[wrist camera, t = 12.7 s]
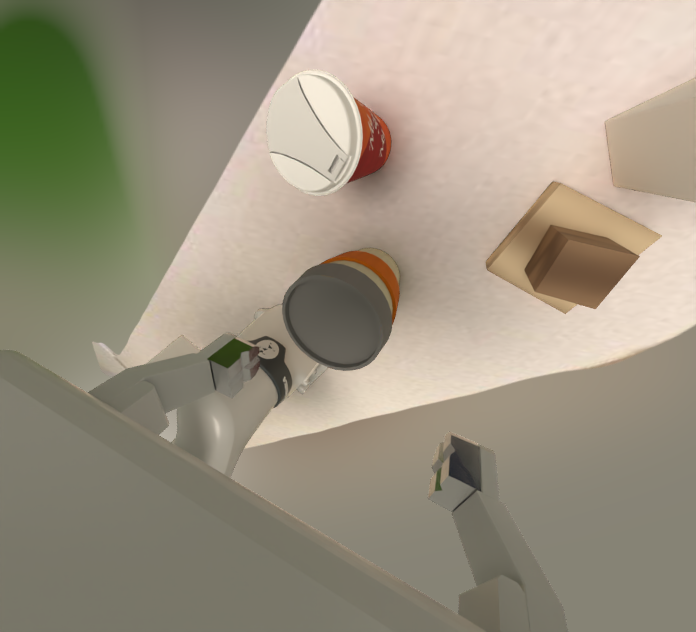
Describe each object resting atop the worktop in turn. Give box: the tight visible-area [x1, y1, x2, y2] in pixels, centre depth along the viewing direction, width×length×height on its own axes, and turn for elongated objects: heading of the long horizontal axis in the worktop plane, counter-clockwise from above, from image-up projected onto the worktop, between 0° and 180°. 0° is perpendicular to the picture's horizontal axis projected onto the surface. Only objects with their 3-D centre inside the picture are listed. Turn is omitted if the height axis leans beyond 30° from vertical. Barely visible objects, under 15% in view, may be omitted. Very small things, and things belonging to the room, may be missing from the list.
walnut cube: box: [524, 225, 640, 309], centre depth 24 cm, size 5×5×6 cm
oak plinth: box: [486, 181, 662, 314], centre depth 28 cm, size 10×10×3 cm
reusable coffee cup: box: [282, 248, 400, 371], centre depth 34 cm, size 13×13×15 cm
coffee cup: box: [266, 70, 391, 196], centre depth 25 cm, size 8×8×15 cm
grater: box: [146, 335, 201, 364], centre depth 65 cm, size 10×10×20 cm
